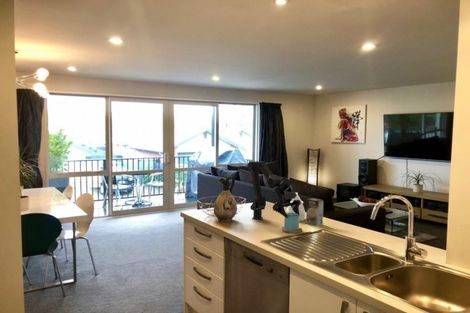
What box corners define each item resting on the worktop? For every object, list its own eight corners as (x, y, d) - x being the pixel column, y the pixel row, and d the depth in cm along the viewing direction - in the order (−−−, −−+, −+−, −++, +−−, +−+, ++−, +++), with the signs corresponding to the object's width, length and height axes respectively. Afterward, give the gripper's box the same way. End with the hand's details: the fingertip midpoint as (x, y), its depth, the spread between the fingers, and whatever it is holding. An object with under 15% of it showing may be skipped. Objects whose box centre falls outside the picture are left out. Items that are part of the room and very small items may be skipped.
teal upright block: (284, 228, 207) (284, 213, 207) (291, 227, 210) (292, 212, 210) (290, 230, 202) (291, 215, 201) (298, 229, 205) (299, 214, 205)
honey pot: (304, 221, 230) (305, 194, 229) (285, 220, 232) (285, 193, 231) (304, 216, 242) (305, 191, 241) (286, 215, 245) (286, 190, 244)
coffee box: (305, 223, 224) (306, 198, 223) (311, 221, 228) (311, 197, 227) (317, 226, 217) (318, 200, 216) (323, 224, 221) (323, 199, 220)
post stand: (282, 227, 213) (282, 220, 213) (302, 228, 211) (302, 221, 210) (280, 232, 202) (280, 224, 202) (301, 234, 199) (301, 226, 199)
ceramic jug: (221, 224, 218) (221, 177, 217) (209, 219, 231) (209, 175, 229) (243, 221, 228) (244, 176, 226) (230, 216, 241) (231, 173, 239)
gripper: (275, 188, 203) (287, 210, 194) (299, 186, 213) (311, 207, 204) (267, 199, 210) (278, 221, 202) (290, 197, 220) (302, 217, 211)
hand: (293, 216), depth 205 cm, fingers open, 9 cm apart
